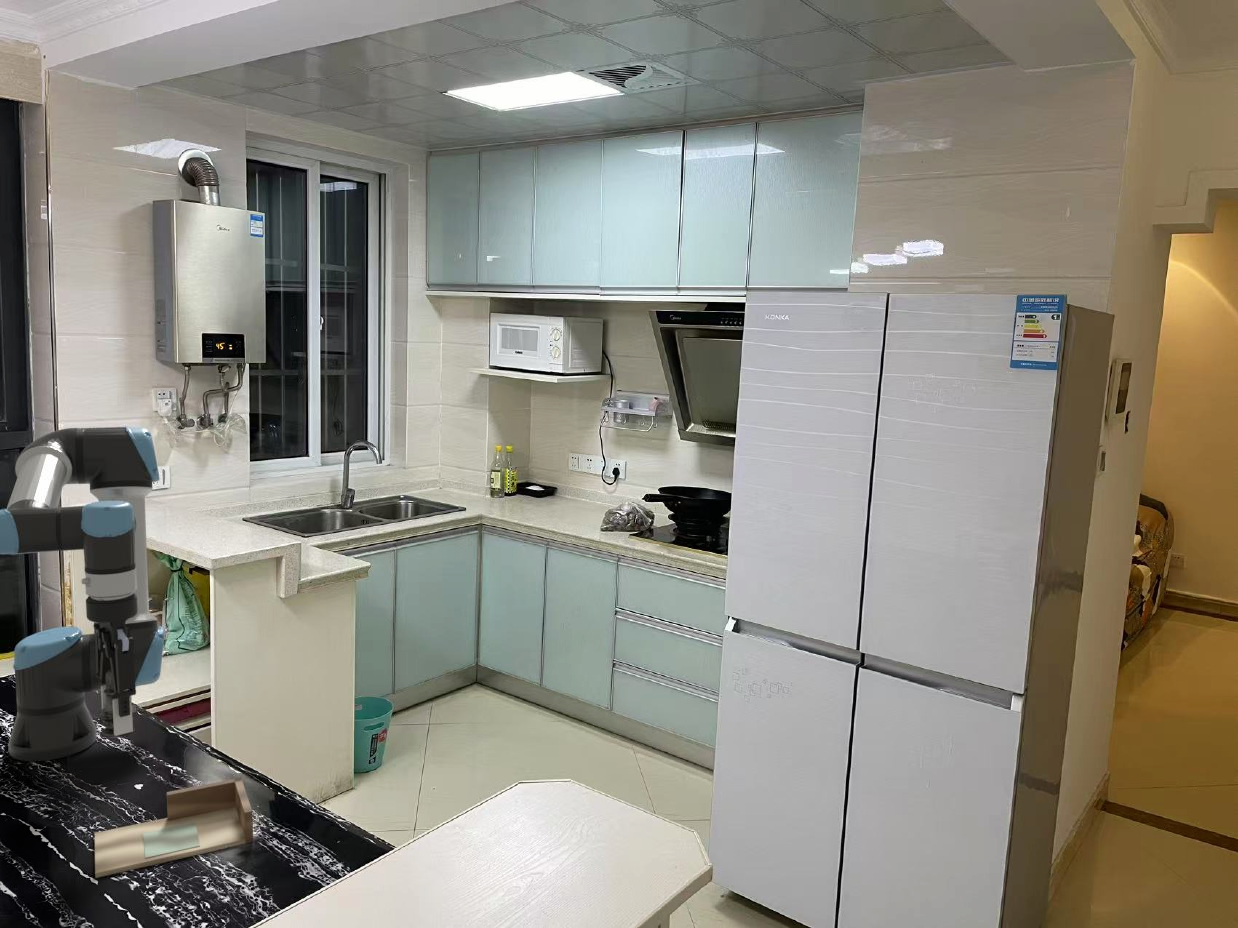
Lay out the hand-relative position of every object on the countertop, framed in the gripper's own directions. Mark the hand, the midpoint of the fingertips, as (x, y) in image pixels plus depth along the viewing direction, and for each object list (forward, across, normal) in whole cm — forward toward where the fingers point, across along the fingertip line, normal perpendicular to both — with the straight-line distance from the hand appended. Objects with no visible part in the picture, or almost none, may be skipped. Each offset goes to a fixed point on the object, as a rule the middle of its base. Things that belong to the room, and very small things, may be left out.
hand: (117, 726), depth 157 cm
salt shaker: (+1, 0, 0) cm, 1 cm away
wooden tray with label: (+17, +11, +5) cm, 21 cm away
